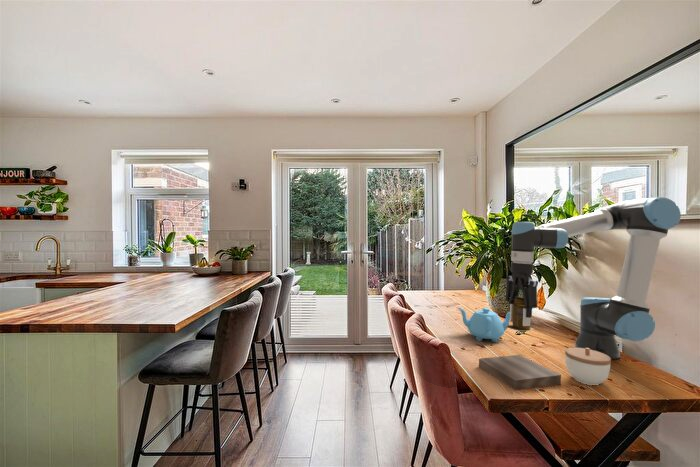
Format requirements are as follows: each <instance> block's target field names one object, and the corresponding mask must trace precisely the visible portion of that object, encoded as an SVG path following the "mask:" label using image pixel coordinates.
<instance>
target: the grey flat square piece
mask: <svg viewBox="0 0 700 467" xmlns="http://www.w3.org/2000/svg"><path fill="white" fill-rule="evenodd" d="M478 368H480V369H482V370H483V371H485V372H487V374H489V375H491V376H493V377H494V378H496V379H497V380H499V381H501V382H502V383H503V384H505V385H507V386H508V387H509V388H512V389H513V390H514V391H517V390H524V389H525V390H526V389H532V388H539V387H549V386H554V385H555V386H556V384H557V385H562V374H560V373H558V372H556V371H554V370H552V369H550V368H547V367H546V366H543V365H542V364H539V363H537V362H535V361H533V360H532V359H529V358H527V357H525V356H523V355H521V354H515V355H514V354H512V355H503V356H493V357H483V358H478Z"/></svg>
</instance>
